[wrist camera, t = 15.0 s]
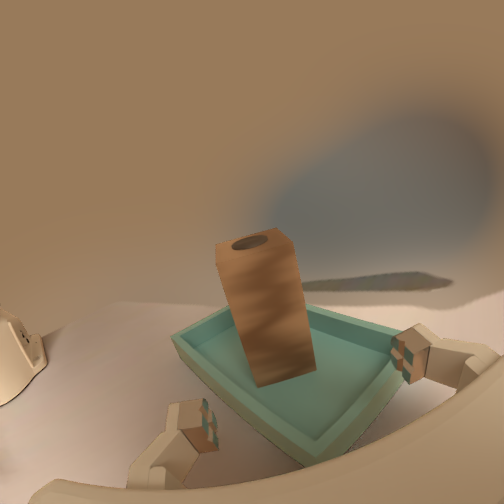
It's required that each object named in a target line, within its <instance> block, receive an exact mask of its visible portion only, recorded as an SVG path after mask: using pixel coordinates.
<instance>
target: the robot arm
mask: <svg viewBox="0 0 504 504" xmlns="http://www.w3.org/2000/svg"><path fill="white" fill-rule="evenodd" d="M391 345H392V346H393V348H392V350H391V352H390V358H391V362H392V364H393V366H394V368H395V369H396V370H397V371H401V372H402V377H403V378H404V379H405V380H406V381H407V383H408V384H409V385H410V384H412V383H414V382H416V381H418V380H420V379H422V378H423V377H425V378H427V379H430V380H433V381H435V382H438V383H441V384H444V385H447V386H450V387H452V388H455V389H457V390H456V393H455V395H454V396H452V397H451V398H449V399H448V400H446V401H445V402H443V403H442V404H441V405H439V406H437V407H436V408H434V409H433V410H431V411H430V412H428V413H426V414H425V415H423V416H421V417H420V418H418V419H416V420H415V421H413V422H411V423H409V424H408V425H406V426H404V427H402V428H400V429H399V430H397V431H395V432H393V433H391V434H389V435H387V436H385V437H383V438H381V439H379V440H377V441H374V442H372V443H370V444H368V445H366V446H363V447H361V448H359V449H356V450H354V451H352V452H349V453H347V454H344V455H342V456H339V457H336V458H334V459H331V460H328V461H325V462H322V463H319V464H316V465H313V466H310V467H307V468H303V469H300V470H297V471H293V472H289V473H285V474H282V475H277V476H273V477H269V478H264V479H260V480H255V481H249V482H244V483H238V484H231V485H224V486H216V487H207V488H195V489H187V488H186V487H185V486H184V485H183V484H182V482H183V481H184V479H185V478H186V476H187V474H188V473H189V471H190V469H191V468H192V466H193V465H194V463H195V461H196V460H197V458H198V456H199V454H200V453H206V452H212V451H218V450H219V448H218V438H217V436H216V434H215V433H216V432H217V422H216V418H215V416H214V413H213V412H212V410H210V409H208V403H207V401H206V399H204V398H202V399H195V400H189V401H182V402H177V403H170V404H169V406H168V412H167V419H166V426H165V432H161V433H160V434H159V436H158V437H157V438H156V439H155V440H154V441H153V442H152V443H151V444H150V445H149V446H148V448H147V449H146V450H145V451H144V452H143V453H142V454H141V455H140V456H139V457H138V458H137V459H136V460H135V461H134V462H133V464H132V465H131V466H130V469H129V474H128V480H127V486H126V489H125V488H114V487H104V486H97V485H90V484H84V483H78V482H73V481H68V480H64V479H54V480H53V481H51V482H49V483H48V484H46V485H45V486H44V487H42V488H41V489H40V490H38V491H37V492H36V493H34V494H33V496H32V497H31V499H30V500H29V502H28V504H504V355H503V356H502V357H501V356H500V355H499V354H497V353H496V352H495V351H493V350H492V349H491V348H489V347H488V346H487V345H485V344H478V343H471V342H465V341H458V340H452V339H446V338H443V339H440V338H439V337H438V336H436V335H435V334H434V333H433V332H431V331H430V330H429V329H428V328H426V327H425V326H424V325H422V324H421V323H418V324H416V325H414V326H413V327H411V328H409V329H407V330H405V331H403V332H401V333H399V334H397V335H395V336H393V337H392V338H391ZM46 365H47V360H46V356H45V352H44V347H43V343H42V338H41V336H40V335H39V334H34V335H30V336H29V335H28V334H27V331H26V330H25V328H24V326H23V324H22V322H21V321H20V319H19V318H18V317H16V316H14V315H12V314H10V313H8V312H7V311H5V310H3V309H2V308H1V307H0V406H1V405H3V404H5V403H7V402H8V401H10V400H11V399H13V398H14V397H15V396H16V395H18V394H19V393H20V392H21V391H22V390H23V389H24V388H25V387H26V386H27V384H28V383H29V382H30V381H31V379H32V378H33V377H34V376H35V375H36V374H37V373H38V372H39V371H41V370H42V369H43V368H44V367H45V366H46Z"/></svg>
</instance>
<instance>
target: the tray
mask: <svg viewBox="0 0 504 504" xmlns="http://www.w3.org/2000/svg"><path fill="white" fill-rule="evenodd" d="M305 305H306V310H307V316H308V321H309V327H310V332H311V338H312V344H313V350H314V356H315V362H316V368H317V370H316V371H313V372H310V373H307V374H304V375H301V376H298V377H295V378H291V379H288V380H285V381H282V382H278V383H275V384H271V385H268V386H264V387H260V388H257V386H256V383H255V380H254V377H253V374H252V372H251V369H250V366H249V363H248V360H247V357H246V355H245V352H244V349H243V346H242V343H241V340H240V337H239V334H238V331H237V328H236V325H235V322H234V319H233V316H232V313H231V310H230V307H229V305H228V306H226V307H224V308H223V309H221V310H219V311H217V312H215V313H213V314H212V315H210V316H208V317H206V318H204V319H202V320H200V321H199V322H197V323H195V324H193V325H191V326H189V327H187V328H186V329H184V330H182V331H180V332H178V333H176V334H174V335H172V336H170V337H171V339H172V341H173V344H174V346H175V348H176V350H177V352H178V354H179V356H180V358H181V359H182V360H183V361H184V363H185V364H186V365H187V366H188V367H189V368H190V369H191V370H192V371H193V372H194V373H195V374H196V375H197V376H198V377H199V378H200V379H201V380H202V381H203V382H204V383H205V384H206V385H207V386H208V387H209V388H210V389H211V390H212V391H213V392H214V393H215V394H216V395H217V396H219V397H220V398H221V399H222V400H223V401H224V402H225V403H226V404H227V405H228V406H229V407H230V408H232V409H233V410H234V411H235V412H236V413H237V414H238V415H239V416H241V417H242V418H243V419H244V420H245V421H246V422H247V423H249V424H250V425H251V426H252V427H253V428H255V429H256V430H257V431H258V432H259V433H261V434H262V435H263V436H264V437H266V438H267V439H268V440H269V441H271V442H272V443H273V444H274V445H276V446H277V447H278V448H280V449H281V450H282V451H284V452H285V453H286V454H288V455H289V456H290V457H292V458H293V459H294V460H296V461H297V462H299V463H300V464H301V465H303V466H304V467H306V468H307V467H310V466H313V465H316V464H319V463H322V462H325V461H328V460H331V459H334V458H336V457H339V456H342V455H343V454H344V453H345V452H346V451H347V450H348V449H349V448H350V447H351V446H352V444H353V443H354V442H355V441H356V440H357V439H358V438H359V437H360V436H361V435H362V433H363V432H364V431H365V430H366V429H367V428H368V427H369V425H370V424H371V423H372V422H373V421H374V419H375V418H376V417H377V416H378V415H379V413H380V412H381V411H382V409H383V408H384V407H385V406H386V404H387V403H388V402H389V400H390V399H391V398H392V396H393V395H394V394H395V392H396V391H397V390H398V388H399V387H400V385H401V384H402V382H403V381H404V380H405V379H404V378H403V377H402V372H401V371H397V370H396V369H395V368H394V366H393V364H392V362H391V358H390V352H391V350H392V348H393V346H392V345H391V338H392V337H393V336H395V335H397V334H399V333H401V332H403V331H400V330H396V329H392V328H389V327H385V326H381V325H378V324H374V323H371V322H367V321H363V320H360V319H356V318H353V317H349V316H346V315H342V314H339V313H336V312H332V311H329V310H325V309H322V308H319V307H315V306H312V305H309V304H305Z"/></svg>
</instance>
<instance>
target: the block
mask: <svg viewBox="0 0 504 504" xmlns="http://www.w3.org/2000/svg"><path fill="white" fill-rule="evenodd" d="M216 266H217V270H218V273H219V276H220V279H221V282H222V286H223V289H224V292H225V295H226V298H227V301H228V304H229V307H230V310H231V313H232V316H233V319H234V322H235V325H236V328H237V331H238V334H239V337H240V340H241V343H242V346H243V349H244V352H245V355H246V357H247V360H248V363H249V366H250V369H251V372H252V374H253V377H254V380H255V383H256V386H257V388H260V387H264V386H268V385H271V384H275V383H278V382H282V381H285V380H288V379H291V378H295V377H298V376H301V375H304V374H307V373H310V372H313V371H316V370H317V368H316V362H315V356H314V350H313V344H312V338H311V332H310V327H309V321H308V316H307V310H306V305H305V300H304V294H303V289H302V284H301V279H300V274H299V269H298V265H297V260H296V255H295V250H294V245H293V242H292V241H291V240H290V239H289V238H288V237H286V236H285V235H284V234H283V233H282V232H281V231H279V230H278V229H277V228H273V229H270V230H266V231H262V232H259V233H255V234H251V235H248V236H245V237H241V238H237V239H234V240H230V241H226V242H223V243H219V244H216Z"/></svg>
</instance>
